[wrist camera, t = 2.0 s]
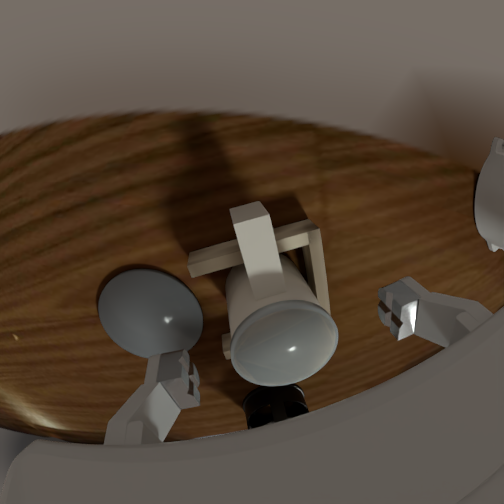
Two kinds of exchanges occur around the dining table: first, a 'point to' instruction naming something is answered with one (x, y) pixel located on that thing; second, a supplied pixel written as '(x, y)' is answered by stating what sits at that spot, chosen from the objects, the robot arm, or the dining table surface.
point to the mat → (150, 312)
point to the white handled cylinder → (273, 309)
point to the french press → (273, 404)
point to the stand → (286, 239)
